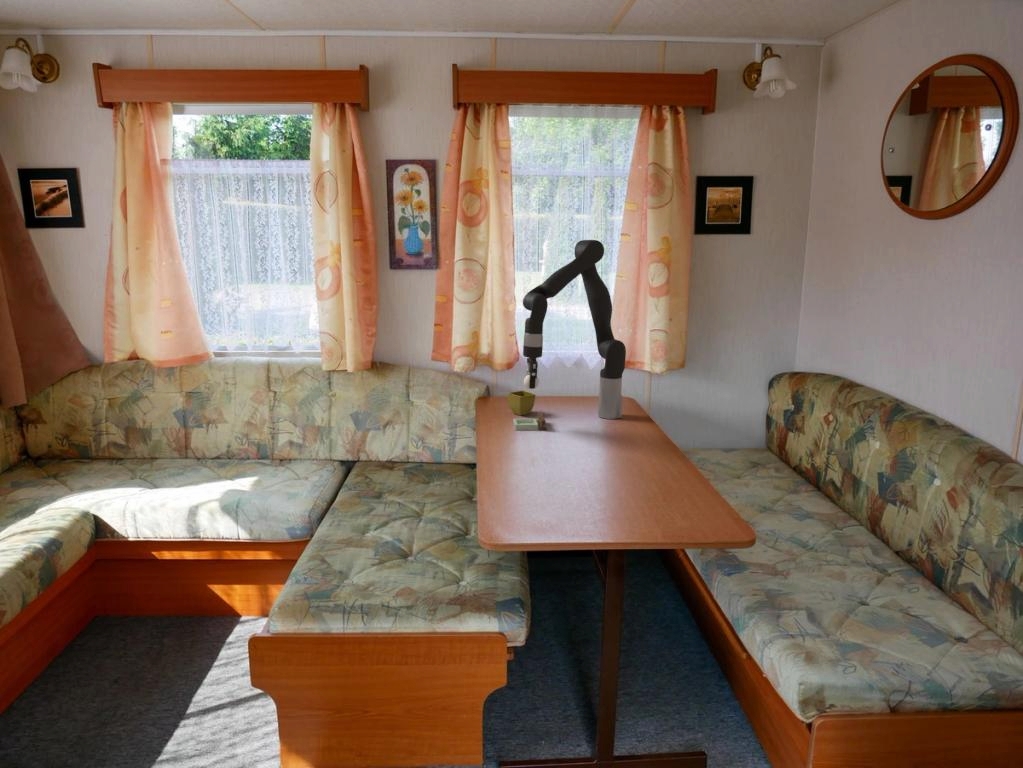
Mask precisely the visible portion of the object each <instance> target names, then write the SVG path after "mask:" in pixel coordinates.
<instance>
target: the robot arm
mask: <svg viewBox="0 0 1023 768" xmlns="http://www.w3.org/2000/svg"><path fill="white" fill-rule="evenodd" d="M604 254H605V247H604V245H603V243H602V242H601V241H599V240H597V239H582V240H579V241H578V242H576V244H575V247H574V258H575V259H573V260H572V261H570V262H569V263H567V264H566V265H563V266H562V267H561V268H559V269H557V270H556V271H554V272H553V273H551V275H550V276H549V277H547V278H546V279H545V280H544V281H543V282H542V283H541V284H539V285H537V286H536V287H533V289H531V290H530V291H529V292H527V293H526V294H525V295H524V296H523V299H522V305H523V308H524V309H526V310H527V311H530V315H529V317H527V318H526V319H525V322H524V334H523V346H522V355H523V357H525V358H526V374H527V375H529V376H530V377H529V378H530V382H529V388H533V389H532V390H535V389H536V388H535V379H536V378H537V377H538V367H539V363H538V360H537V359H539V358H542V357H543V347H544V345H543V343H544V335H543V333H544V321H545V318H546V314H547V310H548V304H549V303H548V299H550V298H551V299H552V298H555V296H557V295H558V294H559V293H560V292H561V291H562V290H563V289H564V288H565V287H567V286H568V285H569V284H570V283H571V282H572V281H574V280H575V279H576V278H577V277H578V276H580V275H581V278H582V282H583V286H584V291H585V294H586V298H587V303H588V307H589V311H590V314H591V320H592V323H593V324H592V325H593V327H594V332H595V336H596V337H595V338H596V345H597V352H598V354H599V355H600V358H602V359H604V360H605V361H604V362H605V363H604V367H603V368H602V369H600V371H599V372H600V373H599V390H598V391H599V393H598V412H597V413H598V415H597V416H598V417H600V418H603V419H607V420H608V419H609V420H615V419H621V418H622V416H623V415H622V412H623V395H622V388H623V387H622V384H623V373H624V371H625V368H626V367H625V366H626V357H627V356H626V355H627V349H626V345H625V343H624V342H623V341H622V340H619V339H615V337H614V333H613V329H612V322H611V321H612V315H613V302H612V299H611V295H610V291H609V288H608V287H607V286H606V284H605V282H604V281H603V280H602V278H601V276H600V275H599V272H598V269H597V266H596V264H597V263H599V262H600V261H601V260H602V259H603V257H604ZM532 374H533V375H532ZM527 375H526V376H527ZM534 388H535V389H534Z"/></svg>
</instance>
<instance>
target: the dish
mask: <svg viewBox="0 0 1023 768" xmlns="http://www.w3.org/2000/svg"><path fill="white" fill-rule="evenodd" d="M536 420H537V419H536V418H513V420H512V421H513V422H512V424H513V428H514V431H538V430H539V424H538V423H537V421H536Z"/></svg>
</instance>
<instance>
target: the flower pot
mask: <svg viewBox="0 0 1023 768" xmlns="http://www.w3.org/2000/svg"><path fill="white" fill-rule="evenodd" d="M507 397H508V398H507V399H508V405H509V409H510V410H511V412H512V413H513V414H515V415H517V416H518V415H519V416H524V415H529V414H530V413H531V412H532V411H533V409H534V405H535V402H536V401H535V400H536V393H534V392H533V393H532V392H529V391H526V390H517V391H512V392H508V393H507Z"/></svg>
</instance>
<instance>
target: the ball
mask: <svg viewBox="0 0 1023 768" xmlns="http://www.w3.org/2000/svg"><path fill="white" fill-rule="evenodd" d="M532 375H533V374H532ZM529 377H530V376H529V375H526V376H525V377H524V379H523V385H524V387H525V388H527V390H535V389H537V388H538V386H539V384H540V380H539V377H538V376H537V378H536V379H535V388H534V389H533V388H529V382H530V378H529Z"/></svg>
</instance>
